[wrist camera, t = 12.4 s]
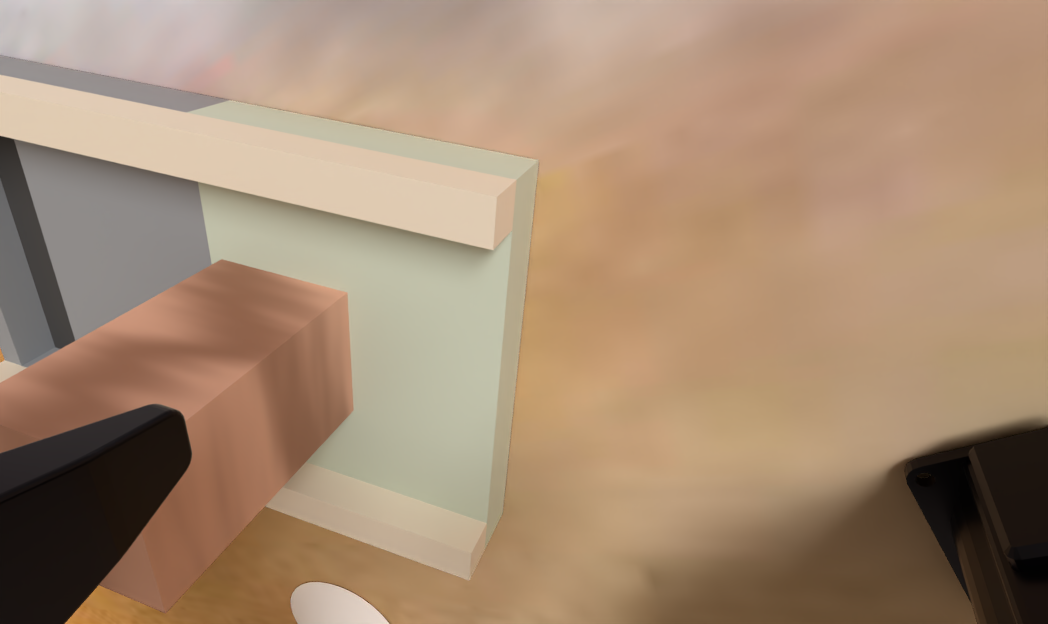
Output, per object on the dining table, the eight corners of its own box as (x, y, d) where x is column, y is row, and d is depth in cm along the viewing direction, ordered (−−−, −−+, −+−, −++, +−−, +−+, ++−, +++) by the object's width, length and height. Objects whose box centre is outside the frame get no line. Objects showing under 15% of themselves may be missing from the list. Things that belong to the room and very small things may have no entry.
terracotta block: (347, 292, 22) (123, 470, 15) (353, 410, 25) (165, 613, 17) (221, 258, 23) (-45, 407, 16) (240, 374, 26) (17, 550, 18)
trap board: (539, 160, 20) (496, 196, 17) (502, 513, 27) (469, 581, 25) (-53, 45, 25) (-161, 58, 23) (53, 364, 33) (-17, 404, 30)
